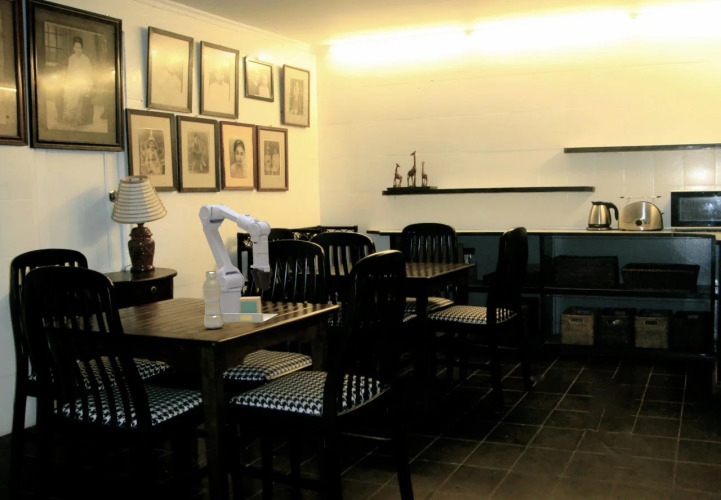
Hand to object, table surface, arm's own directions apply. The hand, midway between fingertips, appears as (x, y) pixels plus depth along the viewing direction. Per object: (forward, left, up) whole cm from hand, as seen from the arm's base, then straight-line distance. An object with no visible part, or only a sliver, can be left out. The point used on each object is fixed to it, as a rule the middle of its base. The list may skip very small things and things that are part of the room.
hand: (262, 289), depth 278 cm
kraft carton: (-1, -11, -10) cm, 14 cm away
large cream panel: (-2, -7, -10) cm, 13 cm away
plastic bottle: (-9, -26, -11) cm, 29 cm away
